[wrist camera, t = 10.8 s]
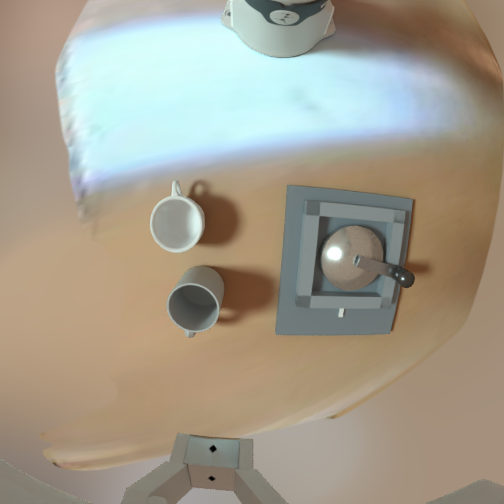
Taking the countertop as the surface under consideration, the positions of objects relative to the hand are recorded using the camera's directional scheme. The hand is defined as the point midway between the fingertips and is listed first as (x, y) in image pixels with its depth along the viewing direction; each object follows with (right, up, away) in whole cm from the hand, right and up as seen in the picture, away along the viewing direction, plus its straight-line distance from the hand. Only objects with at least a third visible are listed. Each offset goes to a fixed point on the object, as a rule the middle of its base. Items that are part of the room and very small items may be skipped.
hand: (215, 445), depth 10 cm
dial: (+19, +7, +35) cm, 40 cm away
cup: (-7, +1, +38) cm, 39 cm away
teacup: (-9, +14, +35) cm, 39 cm away
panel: (+16, +5, +37) cm, 41 cm away
